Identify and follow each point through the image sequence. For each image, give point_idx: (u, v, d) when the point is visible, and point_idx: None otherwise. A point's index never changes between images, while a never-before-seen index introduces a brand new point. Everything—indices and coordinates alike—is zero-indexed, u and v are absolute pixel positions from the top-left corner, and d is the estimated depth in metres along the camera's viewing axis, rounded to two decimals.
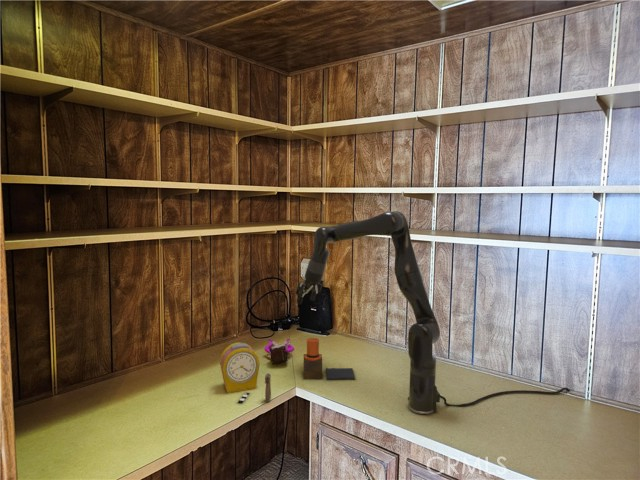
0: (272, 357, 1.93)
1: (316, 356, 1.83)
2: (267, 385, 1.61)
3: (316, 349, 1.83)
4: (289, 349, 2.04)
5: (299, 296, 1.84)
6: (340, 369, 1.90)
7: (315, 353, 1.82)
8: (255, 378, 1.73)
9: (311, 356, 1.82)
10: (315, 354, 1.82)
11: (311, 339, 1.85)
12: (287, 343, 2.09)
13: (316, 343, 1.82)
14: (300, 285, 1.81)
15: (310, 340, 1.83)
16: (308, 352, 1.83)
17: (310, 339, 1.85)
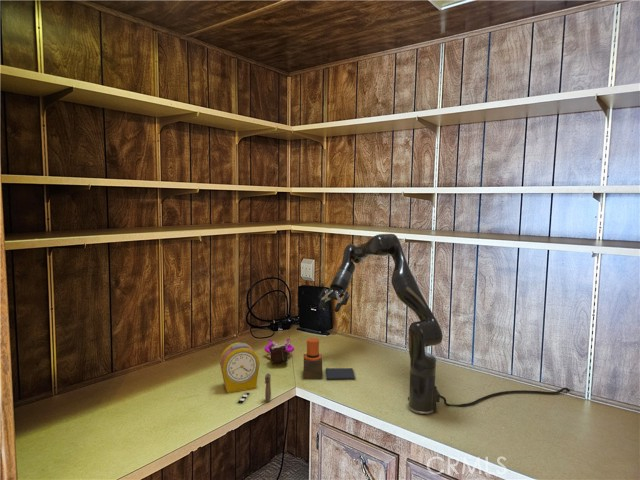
0: (272, 357, 1.93)
1: (316, 356, 1.83)
2: (267, 385, 1.61)
3: (316, 349, 1.83)
4: (289, 349, 2.04)
5: (321, 301, 1.97)
6: (340, 369, 1.90)
7: (315, 353, 1.82)
8: (255, 378, 1.73)
9: (311, 356, 1.82)
10: (315, 354, 1.82)
11: (311, 339, 1.85)
12: (287, 343, 2.09)
13: (316, 343, 1.82)
14: None
15: (310, 340, 1.83)
16: (308, 352, 1.83)
17: (310, 339, 1.85)
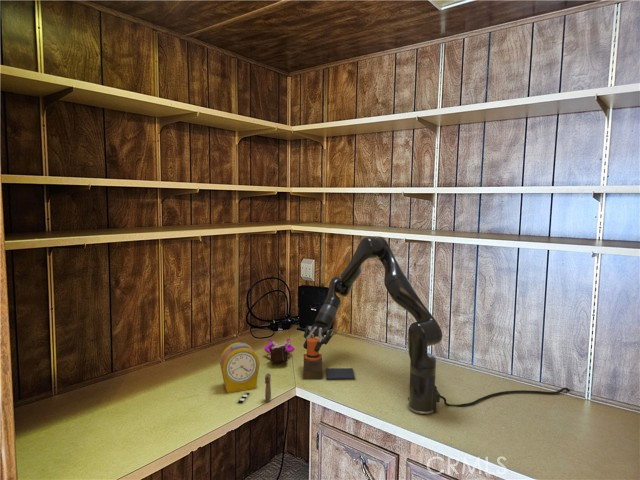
0: (272, 357, 1.93)
1: (316, 356, 1.83)
2: (267, 385, 1.61)
3: None
4: (289, 349, 2.04)
5: (306, 340, 1.87)
6: (340, 369, 1.90)
7: (315, 353, 1.82)
8: (255, 378, 1.73)
9: (311, 356, 1.82)
10: (315, 354, 1.82)
11: (311, 339, 1.85)
12: (287, 343, 2.09)
13: (316, 343, 1.82)
14: None
15: (310, 340, 1.83)
16: (308, 352, 1.83)
17: (310, 339, 1.85)
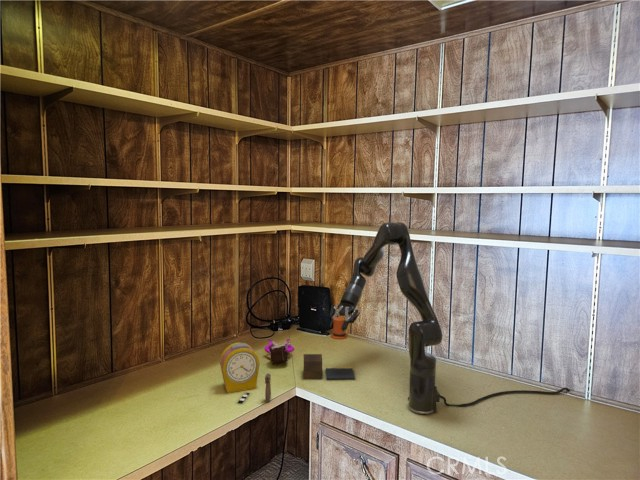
0: (272, 357, 1.93)
1: (343, 335, 1.82)
2: (267, 385, 1.61)
3: None
4: (289, 349, 2.04)
5: (332, 319, 1.86)
6: (340, 369, 1.90)
7: (342, 332, 1.82)
8: (255, 378, 1.73)
9: (338, 335, 1.82)
10: (342, 333, 1.82)
11: (337, 318, 1.84)
12: (287, 343, 2.09)
13: (343, 322, 1.82)
14: None
15: (337, 319, 1.83)
16: (335, 331, 1.82)
17: (336, 318, 1.84)
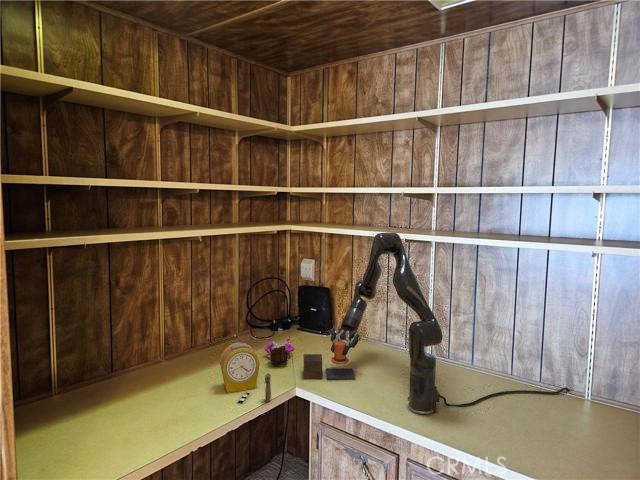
0: (272, 357, 1.93)
1: (344, 360, 1.83)
2: (267, 385, 1.61)
3: None
4: (289, 349, 2.04)
5: (333, 343, 1.88)
6: (340, 369, 1.90)
7: (343, 357, 1.83)
8: (255, 378, 1.73)
9: (339, 360, 1.83)
10: (343, 358, 1.83)
11: (338, 343, 1.85)
12: (287, 343, 2.09)
13: (344, 347, 1.83)
14: None
15: (338, 344, 1.84)
16: (336, 356, 1.84)
17: (337, 343, 1.85)
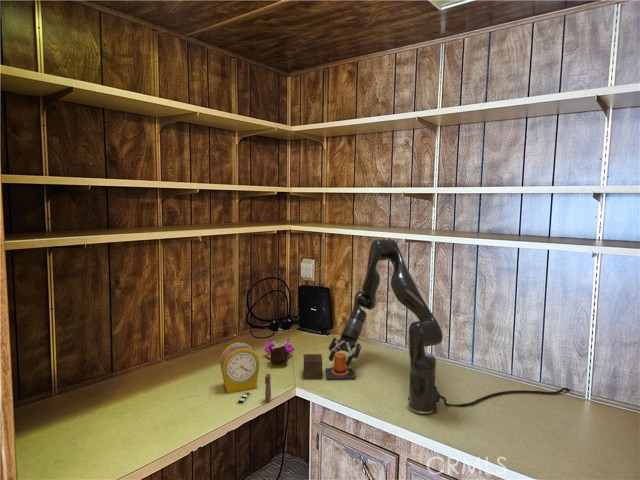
0: (272, 357, 1.93)
1: (343, 371, 1.84)
2: (267, 385, 1.61)
3: (343, 364, 1.84)
4: (289, 349, 2.04)
5: None
6: None
7: (342, 368, 1.84)
8: (255, 378, 1.73)
9: (339, 371, 1.83)
10: (342, 369, 1.84)
11: (338, 354, 1.86)
12: (287, 343, 2.09)
13: (344, 358, 1.83)
14: None
15: (337, 355, 1.84)
16: (335, 367, 1.84)
17: (337, 354, 1.86)
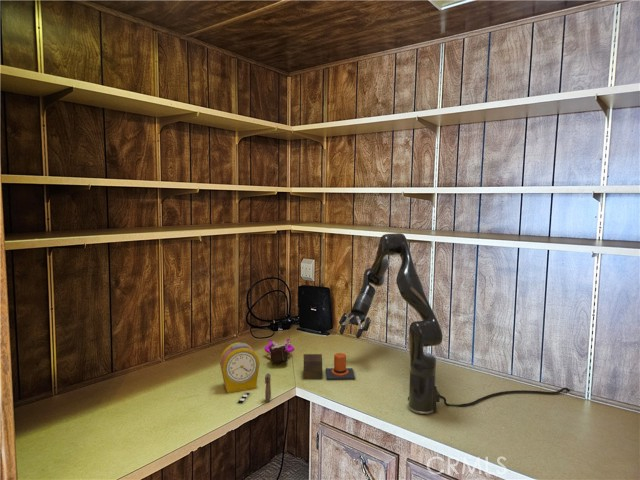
0: (272, 357, 1.93)
1: (343, 371, 1.84)
2: (267, 385, 1.61)
3: (343, 364, 1.84)
4: (289, 349, 2.04)
5: None
6: None
7: (342, 368, 1.84)
8: (255, 378, 1.73)
9: (339, 371, 1.83)
10: (342, 369, 1.84)
11: (338, 354, 1.86)
12: (287, 343, 2.09)
13: (344, 358, 1.83)
14: None
15: (337, 355, 1.84)
16: (335, 367, 1.84)
17: (337, 354, 1.86)
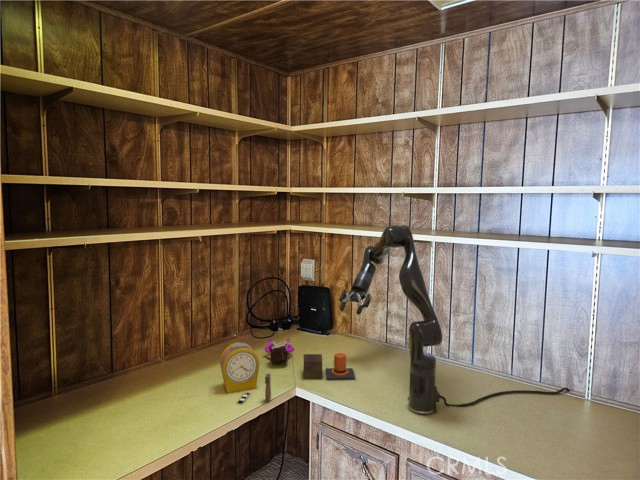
0: (272, 357, 1.93)
1: (343, 371, 1.84)
2: (267, 385, 1.61)
3: (343, 364, 1.84)
4: (289, 349, 2.04)
5: None
6: None
7: (342, 368, 1.84)
8: (255, 378, 1.73)
9: (339, 371, 1.83)
10: (342, 369, 1.84)
11: (338, 354, 1.86)
12: (287, 343, 2.09)
13: (344, 358, 1.83)
14: None
15: (337, 355, 1.84)
16: (335, 367, 1.84)
17: (337, 354, 1.86)
